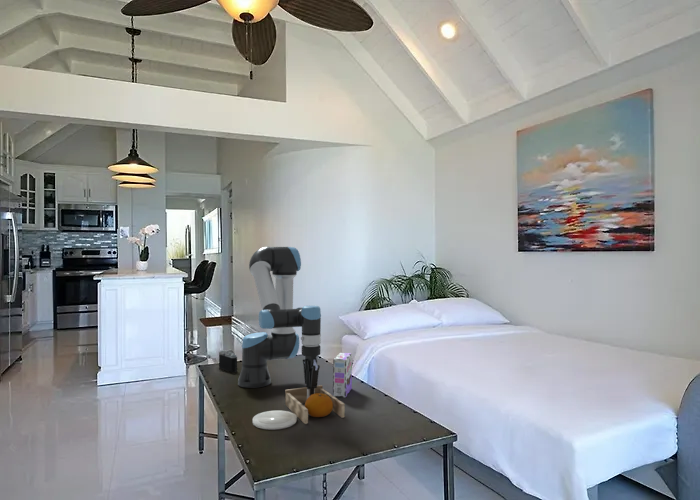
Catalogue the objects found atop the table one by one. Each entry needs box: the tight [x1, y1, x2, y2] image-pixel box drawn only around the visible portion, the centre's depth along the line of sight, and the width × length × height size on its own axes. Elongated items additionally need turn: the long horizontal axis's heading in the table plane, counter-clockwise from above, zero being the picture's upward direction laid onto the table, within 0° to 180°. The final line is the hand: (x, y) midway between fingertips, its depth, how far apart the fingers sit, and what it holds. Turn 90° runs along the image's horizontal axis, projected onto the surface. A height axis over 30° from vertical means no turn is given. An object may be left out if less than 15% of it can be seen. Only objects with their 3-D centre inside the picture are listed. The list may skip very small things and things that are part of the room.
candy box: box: [332, 352, 353, 398], centre depth 203 cm, size 14×6×16 cm, turn 168°
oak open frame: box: [284, 384, 346, 425], centre depth 180 cm, size 23×16×6 cm
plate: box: [252, 409, 298, 431], centre depth 168 cm, size 16×16×1 cm
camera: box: [218, 348, 238, 373], centre depth 244 cm, size 15×7×10 cm, turn 45°
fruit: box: [304, 393, 333, 418], centre depth 175 cm, size 10×10×8 cm
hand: (310, 404), depth 183 cm, fingers closed
